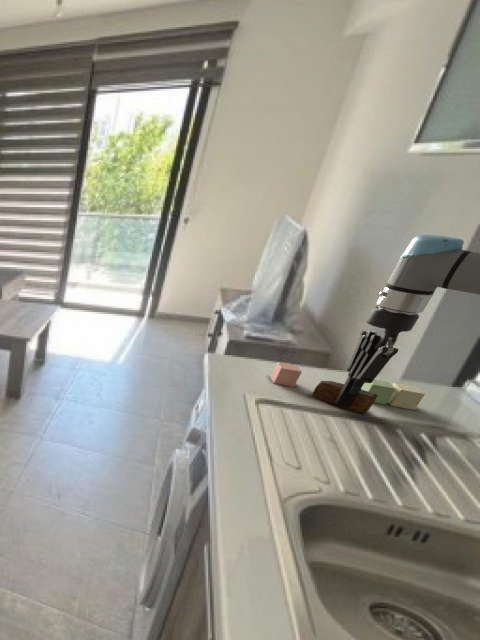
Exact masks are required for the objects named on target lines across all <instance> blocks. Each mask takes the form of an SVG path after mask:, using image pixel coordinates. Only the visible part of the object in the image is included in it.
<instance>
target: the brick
mask: <svg viewBox="0 0 480 640" xmlns="http://www.w3.org/2000/svg"><path fill="white" fill-rule="evenodd" d="M344 384H345V383H341V382H337V381H334V380H320V382H319V383H318V384H317V385H316V386H315V388H314V390H313V391H312V394H311V396H312V397H314V398H316V399H317V400H319V401H322V402H324V403H328V404H330V405H333V406H336V407H337V406H338V407H340V408H343V409H346V410H349V411H351V412H355V413H357V414H360V415H364V414H366V413H367V412H368V411H370V409H371V407H373V405H374V403H375V402H374V401H375V399H376V397H377V394H374V393H371V392H368V391H364V390H360V391H359V393H358V395H357V396H356V398H355V400H354V402H353V403H352V405H351V407H350V406H345V405H340V404H336V402H335V400H336V398H337V396H338V395H339V393H340V391H341V389H342V387H343V386H344Z"/></svg>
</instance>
